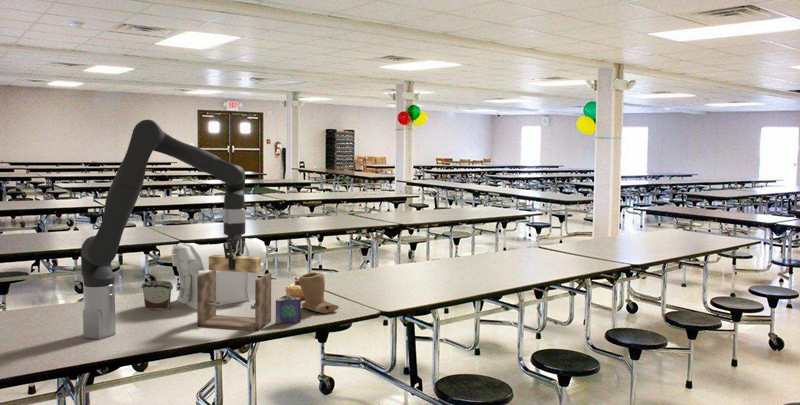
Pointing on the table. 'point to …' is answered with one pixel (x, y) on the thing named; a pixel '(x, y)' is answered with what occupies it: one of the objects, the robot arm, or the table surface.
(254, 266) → the shelf board
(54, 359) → the table surface
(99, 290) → the robot arm
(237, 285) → the chest
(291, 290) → the pastry
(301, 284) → the tan ankle boot
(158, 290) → the food container
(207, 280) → the shelf rack
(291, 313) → the flask
